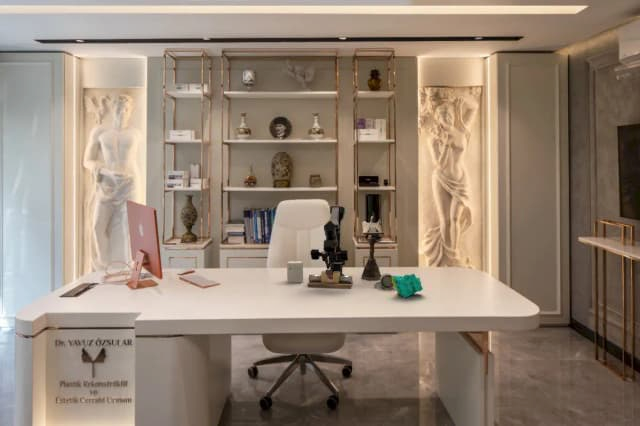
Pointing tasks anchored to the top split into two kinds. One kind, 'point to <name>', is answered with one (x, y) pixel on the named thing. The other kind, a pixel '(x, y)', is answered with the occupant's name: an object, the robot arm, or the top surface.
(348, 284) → the walnut board
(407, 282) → the teal lumpy block
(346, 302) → the top surface
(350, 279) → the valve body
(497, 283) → the top surface
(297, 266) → the small box
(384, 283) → the ceramic mug
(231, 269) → the top surface
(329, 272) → the lever
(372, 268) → the bird statue
